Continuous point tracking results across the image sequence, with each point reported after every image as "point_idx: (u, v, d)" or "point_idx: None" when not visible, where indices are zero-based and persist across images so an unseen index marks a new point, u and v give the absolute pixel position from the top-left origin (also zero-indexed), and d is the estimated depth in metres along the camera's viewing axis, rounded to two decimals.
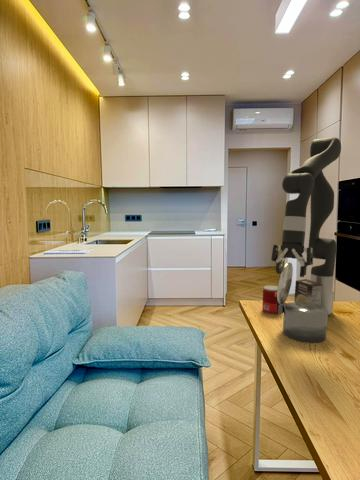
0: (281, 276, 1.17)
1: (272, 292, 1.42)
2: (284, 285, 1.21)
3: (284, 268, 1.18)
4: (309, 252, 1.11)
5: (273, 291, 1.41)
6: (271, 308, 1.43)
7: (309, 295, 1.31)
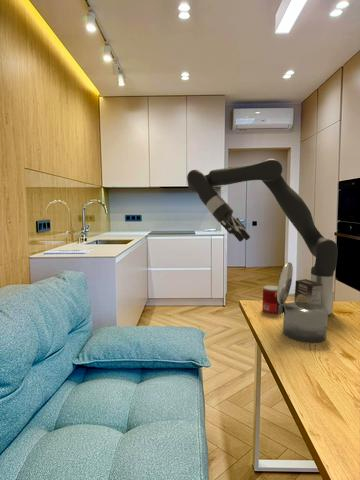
0: (281, 276, 1.17)
1: (272, 292, 1.42)
2: (284, 285, 1.21)
3: (284, 268, 1.18)
4: (223, 226, 1.28)
5: (273, 291, 1.41)
6: (271, 308, 1.43)
7: (309, 295, 1.31)
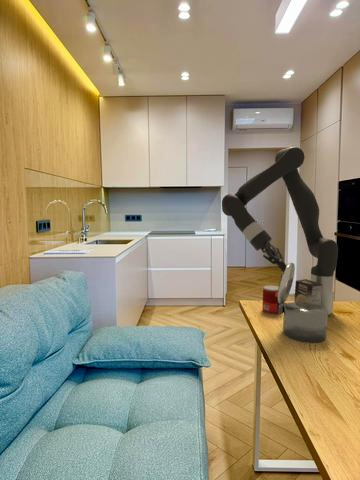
0: (283, 276, 1.16)
1: (272, 292, 1.42)
2: (285, 285, 1.20)
3: (287, 269, 1.18)
4: (266, 258, 1.21)
5: (273, 291, 1.41)
6: (271, 308, 1.43)
7: (309, 295, 1.31)
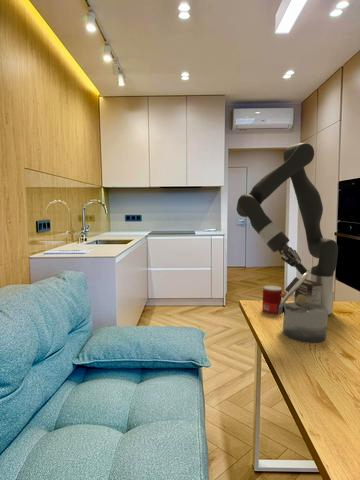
0: (297, 283, 1.14)
1: (272, 292, 1.42)
2: (294, 290, 1.19)
3: (303, 276, 1.15)
4: (284, 260, 1.17)
5: (273, 291, 1.41)
6: (271, 308, 1.43)
7: (309, 295, 1.31)
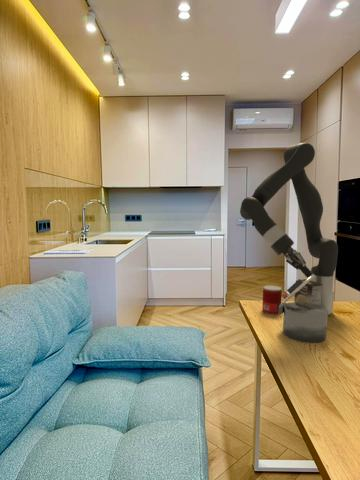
0: (301, 286, 1.13)
1: (272, 292, 1.42)
2: None
3: (308, 280, 1.14)
4: None
5: (273, 291, 1.41)
6: (271, 308, 1.43)
7: (309, 295, 1.31)
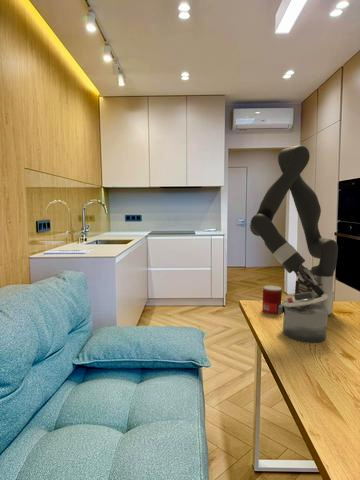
0: (311, 302, 1.12)
1: (272, 292, 1.42)
2: None
3: (320, 300, 1.12)
4: (301, 282, 1.15)
5: (273, 291, 1.41)
6: (271, 308, 1.43)
7: None
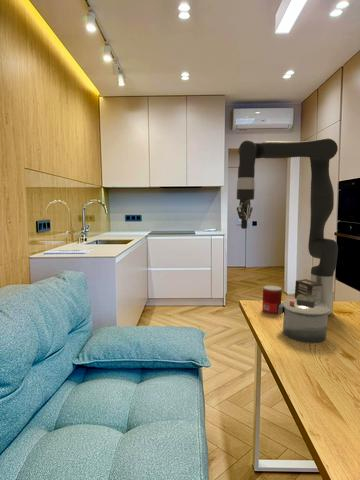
0: (313, 313, 1.12)
1: (272, 292, 1.42)
2: None
3: (322, 313, 1.13)
4: None
5: (273, 291, 1.41)
6: (271, 308, 1.43)
7: (309, 295, 1.31)
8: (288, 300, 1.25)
